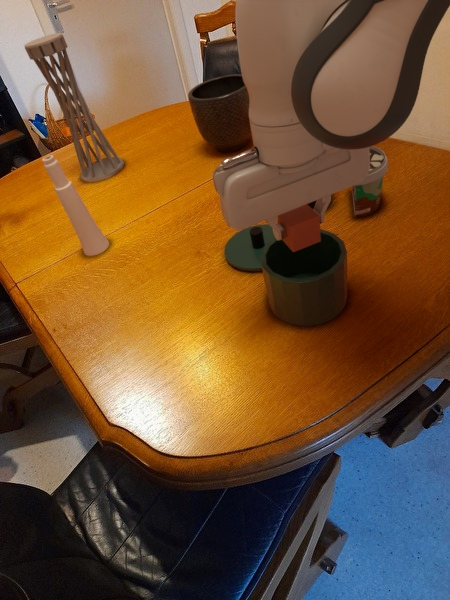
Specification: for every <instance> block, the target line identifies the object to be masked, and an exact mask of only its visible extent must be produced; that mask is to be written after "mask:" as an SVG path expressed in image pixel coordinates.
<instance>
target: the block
mask: <svg viewBox="0 0 450 600" xmlns="http://www.w3.org/2000/svg"><path fill="white" fill-rule="evenodd" d="M280 222H281V223H282V224H283V225H284V226H285V227H286V228H287V236H288V237H286V238H284V239H282V240H283V241H284V242H285V244H286V245H287V246H288V247H289V248H290V249H291V250H292V252H296V251H298V250H301V249H303V248H305V247H308V246H310V245H313V244H315V243H318V242H320V241H321V235H320V229H321V224H320V218H319V215H318V214H317V213H316V212H315V211H314V210H313V209H312V208H311V207H310V206H308V205H307V204H306V205H303V206H301V207H298V208H296V209H293V210H291V211H288V212H286V213H283V214H281V215H278V221H277V223H280Z"/></svg>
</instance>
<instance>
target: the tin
mask: <svg viewBox="0 0 450 600" xmlns="http://www.w3.org/2000/svg"><path fill="white" fill-rule="evenodd" d="M320 235H321V241H320V242H318V243H315V244H313V245H310V246H308V247H305V248H303V249H301V250H298V251H296V252H292V250H291V249H290V248H289V247H288V246H287V245H286V244H285V242H284V241H283V240H282V239H281V240H279V241H278V240H277V239H276V238H274V239H272V240H271V241H270V242H269V243H268V244H267V245H266V246H265V248H264V250H263V252H262V254H261V265H262V270H261V271H262V274H263V280H264V285H265V290H266V295H267V299H268V305H269V307H270V309H271V311H272V313H273V315H275V316H276V317H277V318H278V319H279V320H281V321H282V322H285V323H286V324H289V325H293V326H298V327H314V326H318V325H322V324H325V323H328V322H329V321H331V320H333V319H334V318H336V317H337V316H339V314H340V313H342V311H344V308H345V306H346V304H347V299H348V251H347V248H346V245H345V242H344V240H343V239H341V238H340V237H339V236H338V235H336V233H334V232H331V231H328V230H325V229H322V228H320Z"/></svg>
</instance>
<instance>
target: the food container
mask: <svg viewBox="0 0 450 600" xmlns="http://www.w3.org/2000/svg"><path fill="white" fill-rule="evenodd" d="M369 152H370V168H369V173H368V175H367V177H366V178H365V180H364V181H363V182H361V183H359V184H356V185H354V186H351V189H352V190H351V193H352V203H353V210H354V211H353V212H354V218H356V219H357V218H358V219H359V218H363V217H366V216H369V215H371V214H373V213H374V212H376V211H377V210H378V209H379V207H380V203H381V196H382V189H383V184H384V176H385V175H386V173H387V172H388V170H389V162H388V157H387V155H386V152H384V150H382V149H381V148H379V147H377V146H375V145H373V146H370V147H369Z"/></svg>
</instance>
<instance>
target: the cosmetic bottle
mask: <svg viewBox="0 0 450 600" xmlns="http://www.w3.org/2000/svg"><path fill="white" fill-rule="evenodd" d="M42 163H44V164H43V167H44V169H45V171H46V173H47V174H48V176H49V178H50V179H51V181H52V183H53V185H54V191H55V193H56V195H57V197H58V199H59V201H60V204H61V205H62V208H63V209H64V212H65V213H66V216H67V217H68V219H69V221H70V223H71V225H72V227H73V229H74V231H75V234H76V236H77V239H78V240H79V243H80V245H81V249H82V252H83V253H84V255H85V256H87V257H95V256H98V255H100V254H102V253H104V252H105V251H106V250H108V248H109V247H110V241H109V240H108V238H107V237H106V236H105V234H104V233H103V232H102V230H101V228H100V227H99V226H98V224H97V223H96V221H95V220H94V218H93V216H92V214H91V213H90V211H89V209H88V208H87V206H86V204H85V203H84V201H83V199H82V197H81V195H80V194H79V192H78V190H77V189H76V187H75V186H74V184H73V182H72V181H71V180H69V179H68V178H67V176H66V174H65V172H64V170H63V168H62V166H61V165H60V163H59V161H58V159H55V156H54V155H52V154H50V155H46V156H44V157H42Z"/></svg>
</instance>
